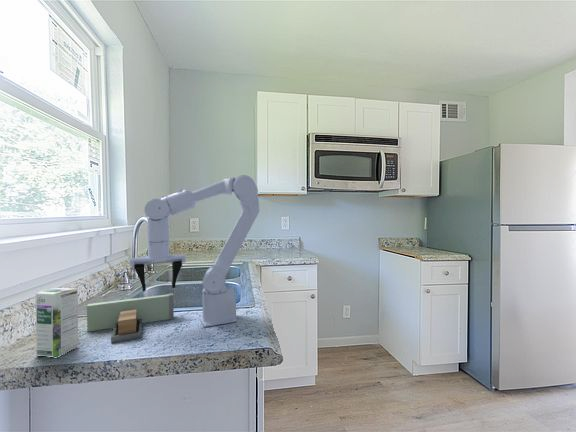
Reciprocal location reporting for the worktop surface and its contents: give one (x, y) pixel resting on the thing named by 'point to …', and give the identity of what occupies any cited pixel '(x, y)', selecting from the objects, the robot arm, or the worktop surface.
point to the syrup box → (56, 321)
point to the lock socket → (128, 336)
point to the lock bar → (127, 322)
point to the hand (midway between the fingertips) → (159, 288)
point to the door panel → (147, 310)
